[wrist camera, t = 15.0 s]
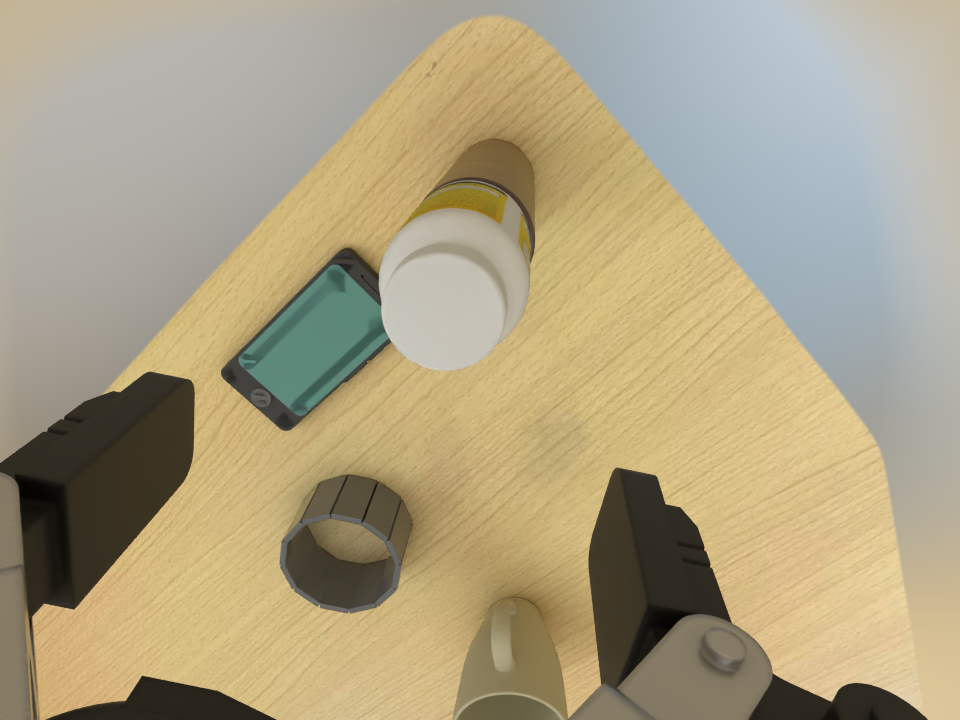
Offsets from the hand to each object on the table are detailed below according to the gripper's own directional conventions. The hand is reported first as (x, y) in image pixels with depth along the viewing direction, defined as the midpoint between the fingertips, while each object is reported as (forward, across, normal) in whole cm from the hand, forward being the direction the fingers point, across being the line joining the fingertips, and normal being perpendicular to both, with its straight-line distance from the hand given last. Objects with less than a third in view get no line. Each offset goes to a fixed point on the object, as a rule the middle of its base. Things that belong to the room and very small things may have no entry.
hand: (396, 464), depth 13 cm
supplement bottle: (+19, 0, 0) cm, 19 cm away
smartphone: (+37, +11, +15) cm, 41 cm away
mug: (+37, -9, +37) cm, 53 cm away
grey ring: (+37, +6, +31) cm, 49 cm away
